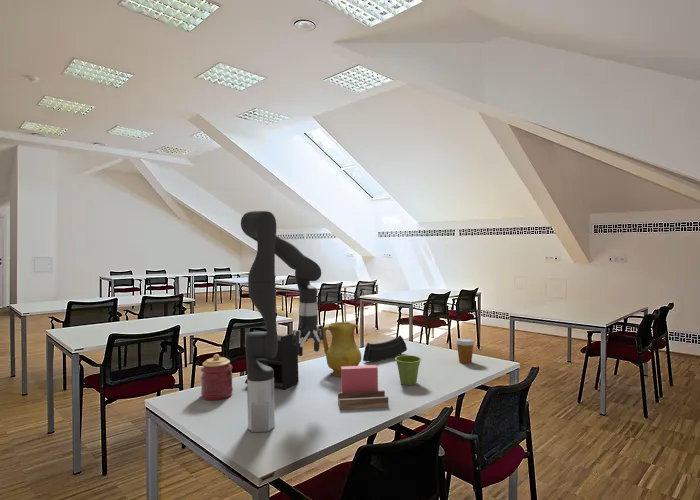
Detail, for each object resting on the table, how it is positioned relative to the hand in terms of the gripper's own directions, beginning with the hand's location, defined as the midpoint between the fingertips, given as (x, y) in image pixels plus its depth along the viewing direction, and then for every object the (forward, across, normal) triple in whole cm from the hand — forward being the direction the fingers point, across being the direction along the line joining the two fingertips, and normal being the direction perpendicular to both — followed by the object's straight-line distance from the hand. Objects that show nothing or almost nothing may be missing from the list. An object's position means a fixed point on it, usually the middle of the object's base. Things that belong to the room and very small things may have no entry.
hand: (308, 353), depth 176 cm
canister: (+22, -20, +36) cm, 47 cm away
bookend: (+22, +6, +33) cm, 40 cm away
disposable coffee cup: (+22, +95, -17) cm, 99 cm away
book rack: (+20, +14, -17) cm, 29 cm away
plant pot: (+21, +47, -15) cm, 53 cm away
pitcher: (+23, +39, +19) cm, 49 cm away
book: (+20, +20, -9) cm, 30 cm away
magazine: (+24, +74, +20) cm, 81 cm away
